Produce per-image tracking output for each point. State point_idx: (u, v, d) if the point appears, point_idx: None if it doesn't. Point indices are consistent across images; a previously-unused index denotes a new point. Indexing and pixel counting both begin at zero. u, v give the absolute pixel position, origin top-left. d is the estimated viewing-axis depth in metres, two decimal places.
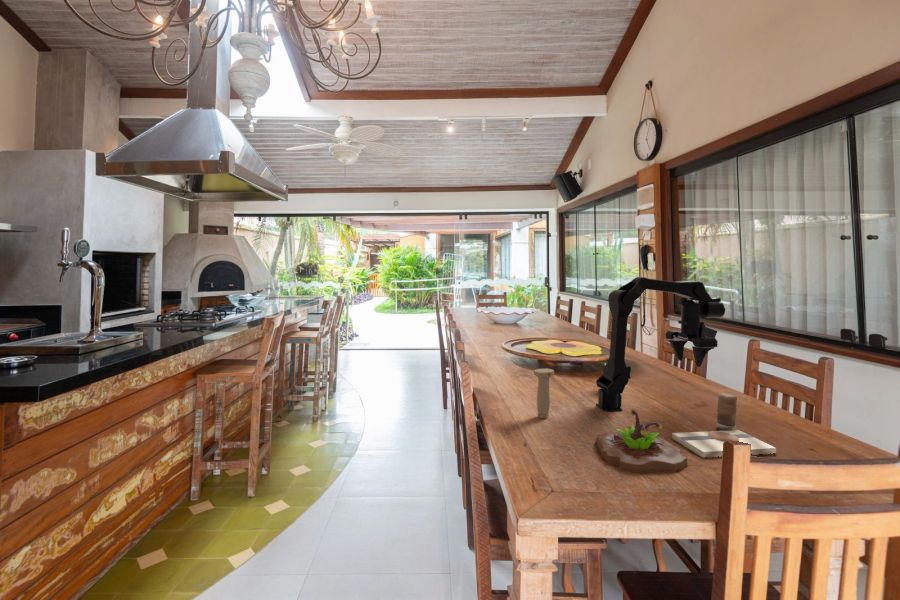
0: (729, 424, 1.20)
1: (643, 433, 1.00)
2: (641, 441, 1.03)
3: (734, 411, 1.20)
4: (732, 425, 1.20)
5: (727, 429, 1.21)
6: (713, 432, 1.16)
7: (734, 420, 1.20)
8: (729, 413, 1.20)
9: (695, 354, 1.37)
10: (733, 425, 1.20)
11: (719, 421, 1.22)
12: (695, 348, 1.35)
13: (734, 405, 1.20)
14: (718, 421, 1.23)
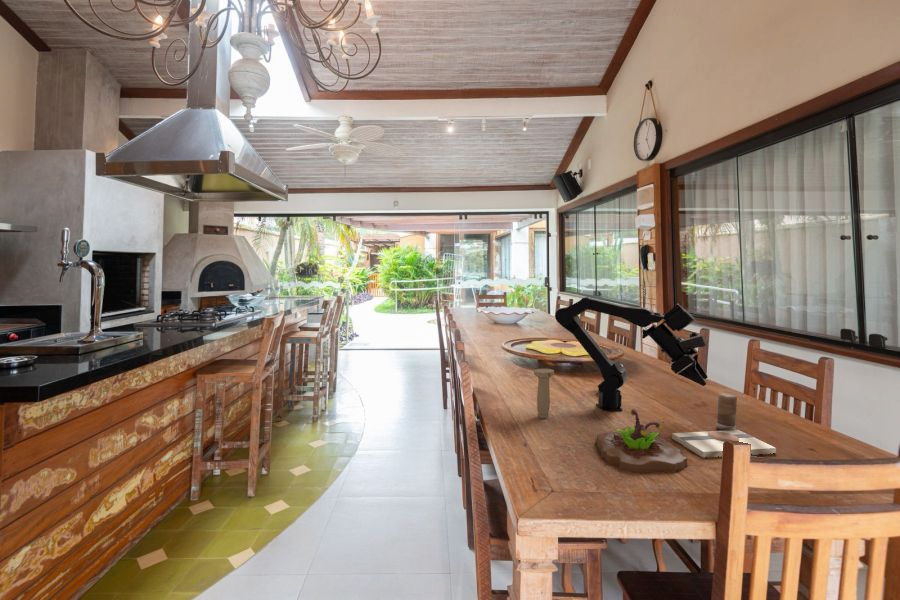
0: (729, 424, 1.20)
1: (643, 433, 1.00)
2: (641, 441, 1.03)
3: (734, 411, 1.20)
4: (732, 425, 1.20)
5: (727, 429, 1.21)
6: (713, 432, 1.16)
7: (734, 420, 1.20)
8: (729, 413, 1.20)
9: (687, 377, 1.23)
10: (733, 425, 1.20)
11: (719, 421, 1.22)
12: (678, 374, 1.23)
13: (734, 405, 1.20)
14: (718, 421, 1.23)
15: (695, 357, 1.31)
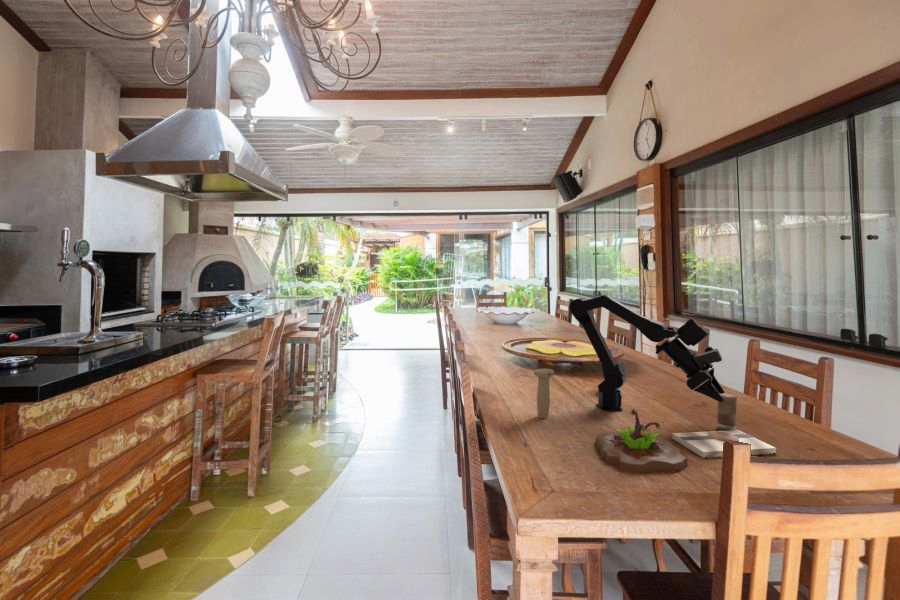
0: (729, 424, 1.20)
1: (643, 433, 1.00)
2: (641, 441, 1.03)
3: (734, 411, 1.20)
4: (732, 425, 1.20)
5: (727, 429, 1.21)
6: (713, 432, 1.16)
7: (734, 420, 1.20)
8: (729, 413, 1.20)
9: None
10: (733, 425, 1.20)
11: (719, 421, 1.22)
12: None
13: (734, 405, 1.20)
14: (718, 421, 1.23)
15: (711, 372, 1.28)
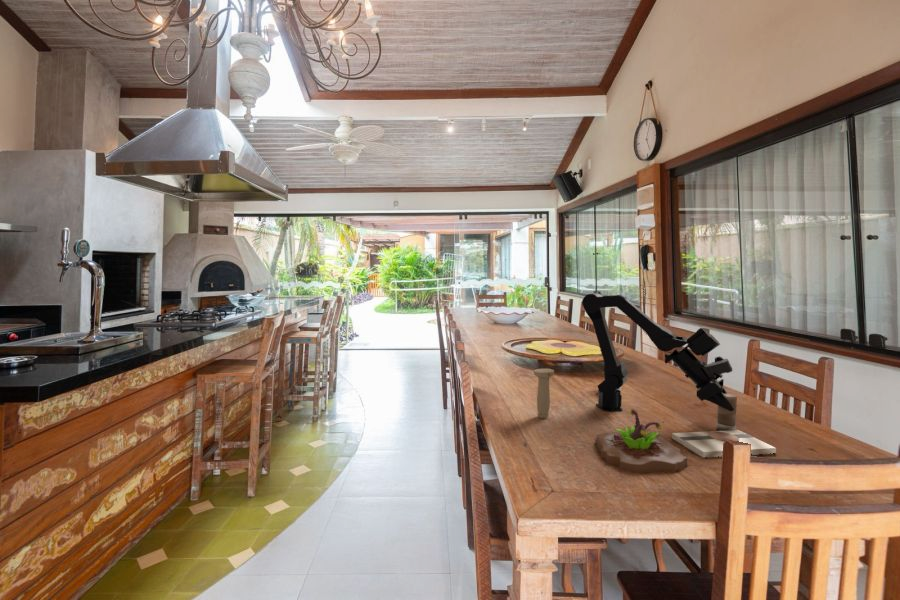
0: (729, 424, 1.20)
1: (643, 433, 1.00)
2: (641, 441, 1.03)
3: (734, 411, 1.20)
4: (732, 425, 1.20)
5: (727, 429, 1.21)
6: (713, 432, 1.16)
7: (734, 420, 1.20)
8: (729, 413, 1.20)
9: None
10: (733, 425, 1.20)
11: (719, 421, 1.22)
12: None
13: (734, 405, 1.20)
14: (718, 421, 1.23)
15: (720, 383, 1.25)
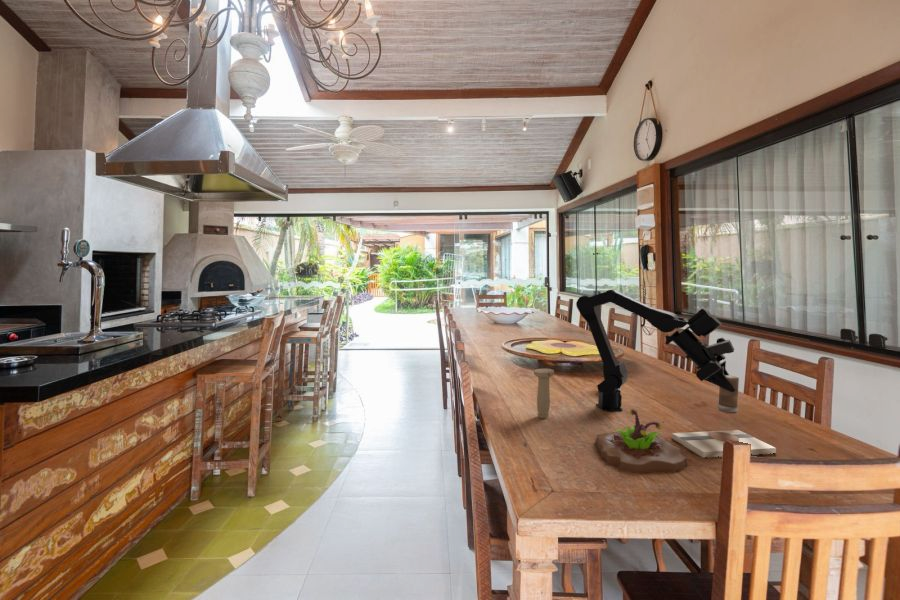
0: (730, 405, 1.19)
1: (643, 433, 1.00)
2: (641, 441, 1.03)
3: (736, 392, 1.18)
4: (733, 406, 1.19)
5: (728, 411, 1.19)
6: (713, 432, 1.16)
7: (736, 401, 1.19)
8: (731, 394, 1.18)
9: None
10: (734, 406, 1.19)
11: (720, 402, 1.21)
12: None
13: (736, 386, 1.18)
14: (719, 403, 1.21)
15: (722, 365, 1.23)
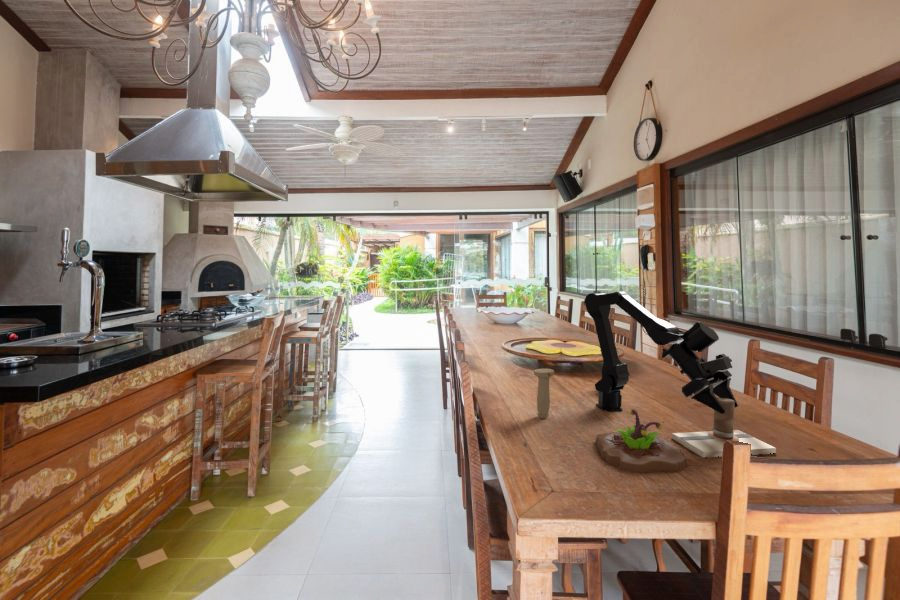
0: (723, 430, 1.11)
1: (643, 433, 1.00)
2: (641, 441, 1.03)
3: (729, 417, 1.11)
4: (727, 432, 1.11)
5: (721, 436, 1.12)
6: None
7: (730, 427, 1.11)
8: (723, 418, 1.11)
9: None
10: (728, 432, 1.11)
11: (714, 426, 1.14)
12: None
13: (729, 410, 1.11)
14: None
15: (724, 382, 1.16)
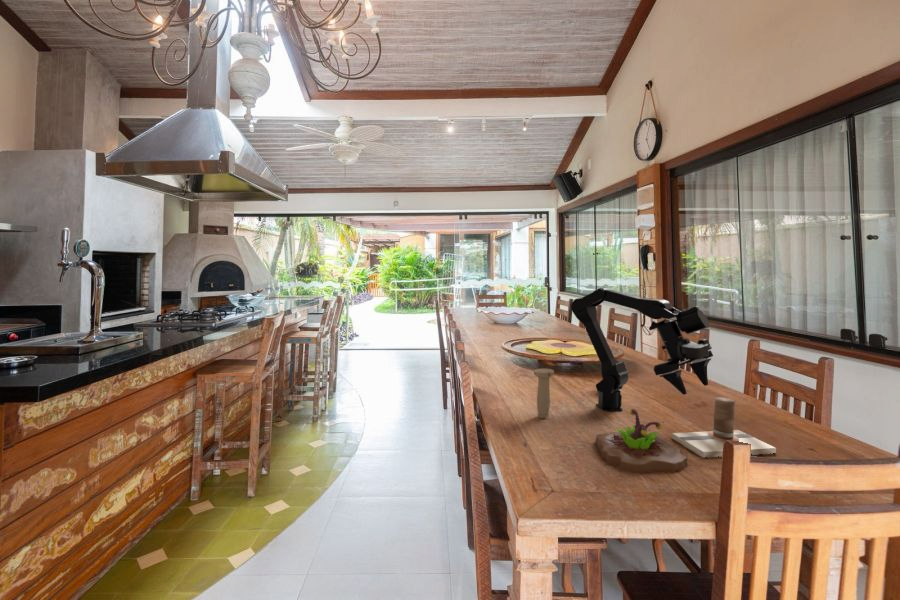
0: (723, 430, 1.11)
1: (644, 433, 1.00)
2: (641, 441, 1.03)
3: (729, 417, 1.11)
4: (727, 432, 1.11)
5: (721, 436, 1.12)
6: None
7: (730, 427, 1.11)
8: (723, 418, 1.11)
9: None
10: (728, 432, 1.11)
11: (714, 426, 1.14)
12: None
13: (729, 410, 1.10)
14: None
15: (702, 362, 1.24)
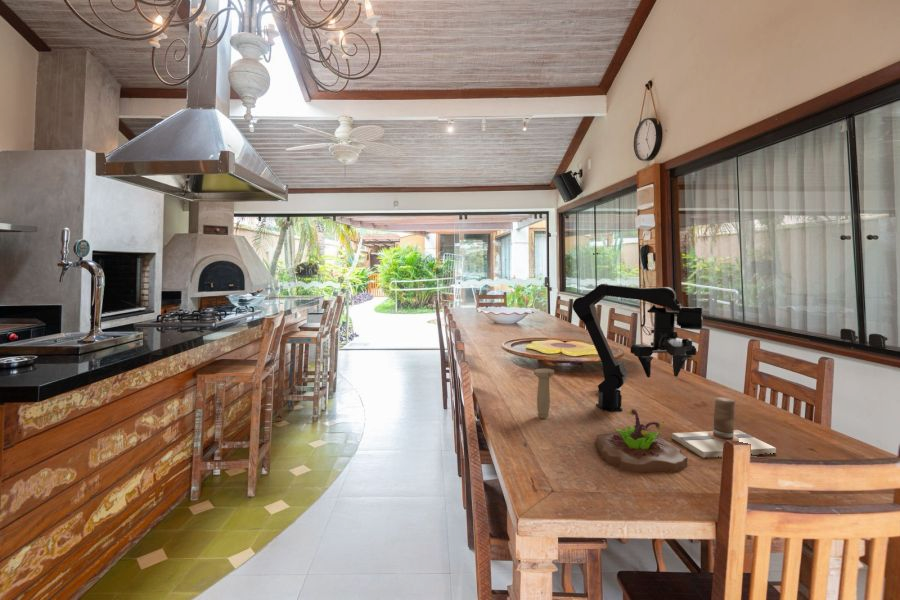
0: (723, 430, 1.11)
1: (644, 433, 1.00)
2: (641, 441, 1.03)
3: (729, 417, 1.11)
4: (727, 432, 1.11)
5: (721, 436, 1.12)
6: None
7: (730, 427, 1.11)
8: (723, 418, 1.11)
9: None
10: (728, 432, 1.11)
11: (714, 426, 1.14)
12: None
13: (729, 410, 1.10)
14: None
15: (682, 357, 1.30)
